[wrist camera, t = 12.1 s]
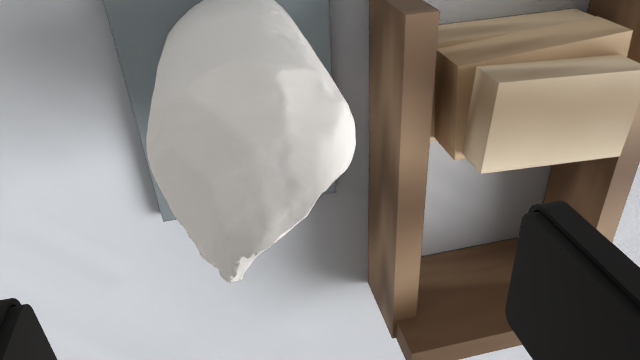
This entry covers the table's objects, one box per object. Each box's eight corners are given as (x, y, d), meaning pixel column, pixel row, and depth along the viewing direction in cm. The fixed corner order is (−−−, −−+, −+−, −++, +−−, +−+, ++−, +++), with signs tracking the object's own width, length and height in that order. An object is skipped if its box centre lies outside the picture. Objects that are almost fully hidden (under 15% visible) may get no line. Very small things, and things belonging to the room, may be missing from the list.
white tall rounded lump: (333, 385, 12) (89, 351, 10) (266, 150, 22) (135, 106, 20) (472, 186, 10) (196, 84, 8) (329, 22, 20) (188, -45, 18)
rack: (550, 246, 31) (620, 321, 26) (368, 283, 29) (406, 371, 24) (624, -40, 22) (751, -8, 17) (369, -12, 20) (429, 32, 15)
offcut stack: (555, 99, 25) (638, 155, 21) (408, 122, 24) (462, 187, 19) (576, 2, 23) (676, 41, 18) (412, 22, 21) (476, 69, 17)
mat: (332, 185, 25) (336, 192, 24) (163, 214, 24) (163, 221, 23) (318, -162, 17) (322, -162, 17) (66, -148, 16) (63, -147, 15)
